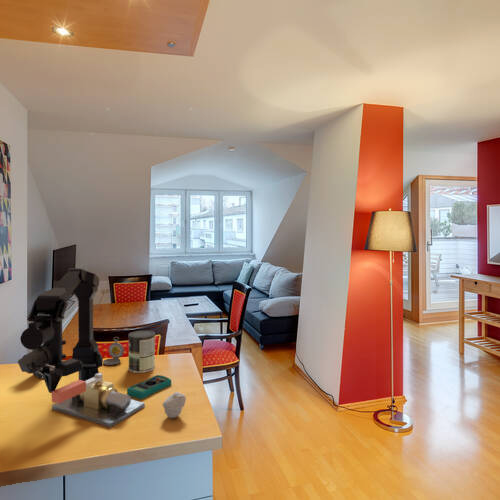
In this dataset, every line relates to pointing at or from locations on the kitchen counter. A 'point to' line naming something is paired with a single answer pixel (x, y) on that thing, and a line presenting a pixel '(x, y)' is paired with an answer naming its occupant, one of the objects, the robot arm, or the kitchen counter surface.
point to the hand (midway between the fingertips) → (51, 392)
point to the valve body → (100, 405)
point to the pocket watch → (114, 348)
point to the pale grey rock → (174, 404)
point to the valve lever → (74, 389)
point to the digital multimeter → (149, 386)
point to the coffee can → (141, 351)
